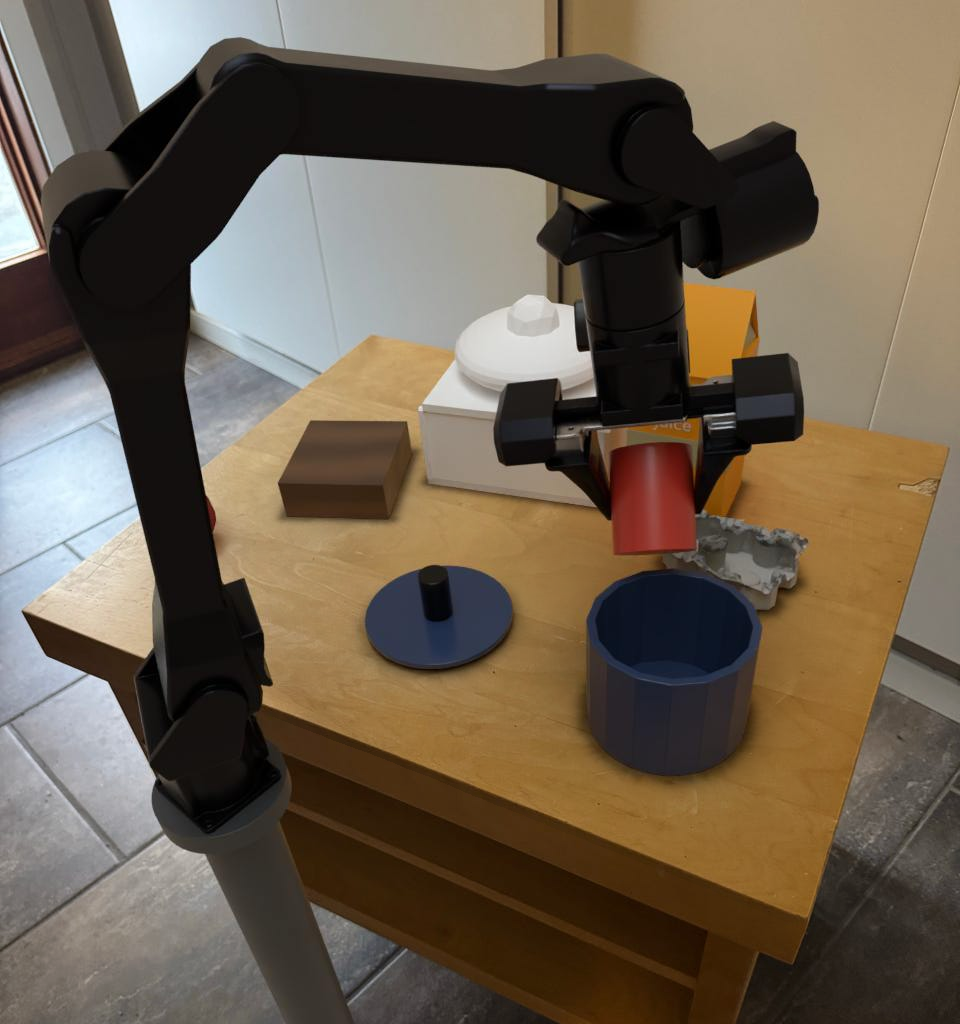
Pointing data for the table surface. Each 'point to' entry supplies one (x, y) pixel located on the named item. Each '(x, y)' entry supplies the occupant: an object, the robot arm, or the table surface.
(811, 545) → the table surface
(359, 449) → the block
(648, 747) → the pot
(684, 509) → the tomato can
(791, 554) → the egg carton
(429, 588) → the lid
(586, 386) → the white box with dome
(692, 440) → the orange juice
